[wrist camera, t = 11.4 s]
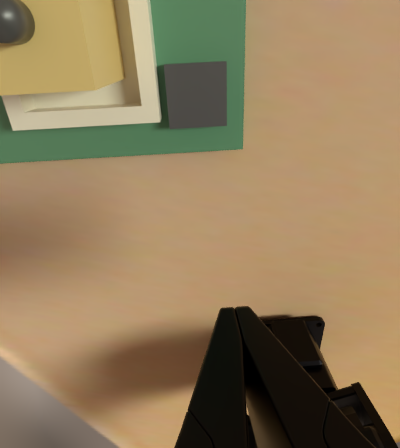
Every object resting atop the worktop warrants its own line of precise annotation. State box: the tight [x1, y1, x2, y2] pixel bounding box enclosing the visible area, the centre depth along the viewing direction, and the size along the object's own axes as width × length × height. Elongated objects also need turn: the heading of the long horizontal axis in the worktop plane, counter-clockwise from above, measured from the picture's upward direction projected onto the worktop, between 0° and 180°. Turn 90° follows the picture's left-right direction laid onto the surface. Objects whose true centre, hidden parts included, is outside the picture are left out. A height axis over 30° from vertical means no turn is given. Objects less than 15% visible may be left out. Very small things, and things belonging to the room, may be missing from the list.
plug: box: [0, 0, 125, 96], centre depth 11 cm, size 5×4×7 cm
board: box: [0, 0, 246, 163], centre depth 14 cm, size 12×16×3 cm
